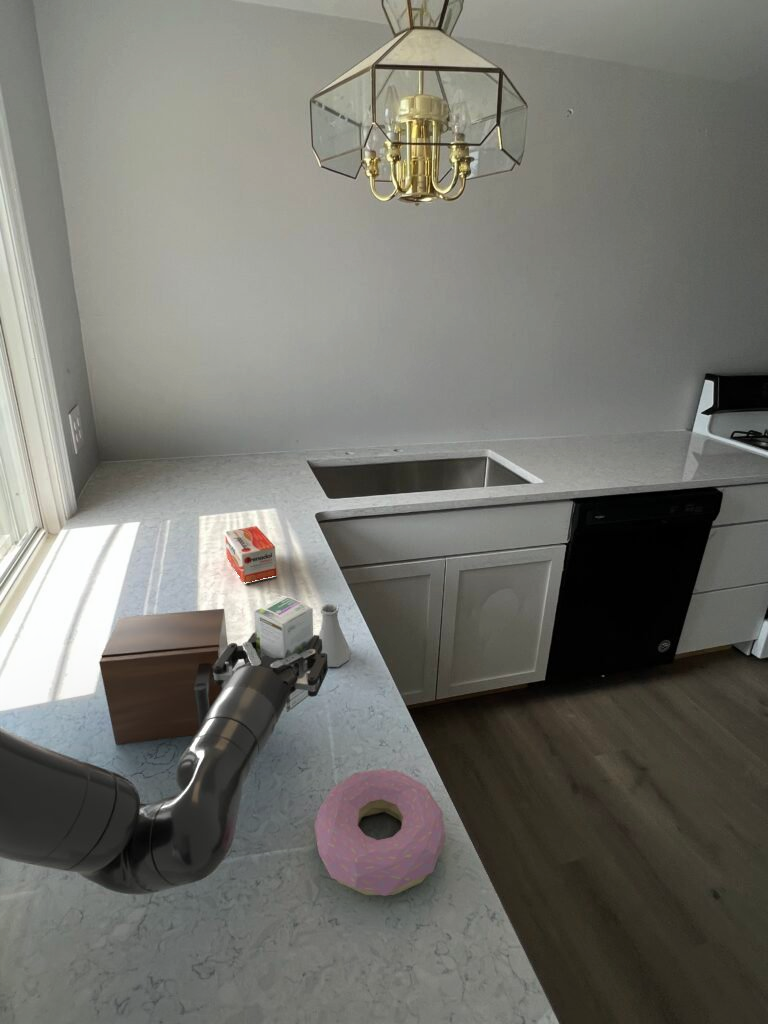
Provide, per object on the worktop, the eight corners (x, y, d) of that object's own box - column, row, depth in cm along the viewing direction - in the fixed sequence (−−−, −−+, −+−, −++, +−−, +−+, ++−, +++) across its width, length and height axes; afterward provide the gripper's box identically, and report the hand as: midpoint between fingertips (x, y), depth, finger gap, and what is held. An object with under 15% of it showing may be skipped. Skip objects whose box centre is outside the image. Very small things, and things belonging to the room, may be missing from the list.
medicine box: (226, 560, 137) (223, 530, 135) (258, 553, 141) (256, 524, 138) (244, 586, 125) (241, 554, 122) (278, 578, 129) (276, 547, 126)
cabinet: (227, 726, 84) (218, 644, 79) (117, 739, 81) (101, 655, 76) (231, 684, 93) (224, 608, 88) (133, 694, 91) (119, 617, 85)
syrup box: (287, 677, 84) (282, 593, 79) (316, 693, 81) (313, 605, 76) (258, 698, 80) (251, 609, 75) (288, 714, 77) (283, 623, 72)
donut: (470, 857, 65) (473, 826, 63) (361, 937, 57) (361, 904, 55) (392, 771, 77) (393, 742, 75) (292, 826, 68) (290, 796, 67)
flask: (340, 672, 97) (340, 623, 93) (303, 663, 99) (301, 614, 96) (356, 649, 103) (356, 602, 100) (321, 641, 106) (320, 595, 102)
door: (223, 760, 78) (214, 676, 73) (104, 776, 75) (85, 689, 70) (227, 726, 84) (218, 646, 79) (117, 739, 81) (100, 657, 76)
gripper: (302, 695, 62) (337, 619, 77) (183, 681, 64) (240, 609, 79) (305, 748, 65) (338, 665, 80) (190, 733, 67) (244, 654, 82)
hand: (289, 637), depth 79 cm, fingers closed on syrup box, 7 cm apart
